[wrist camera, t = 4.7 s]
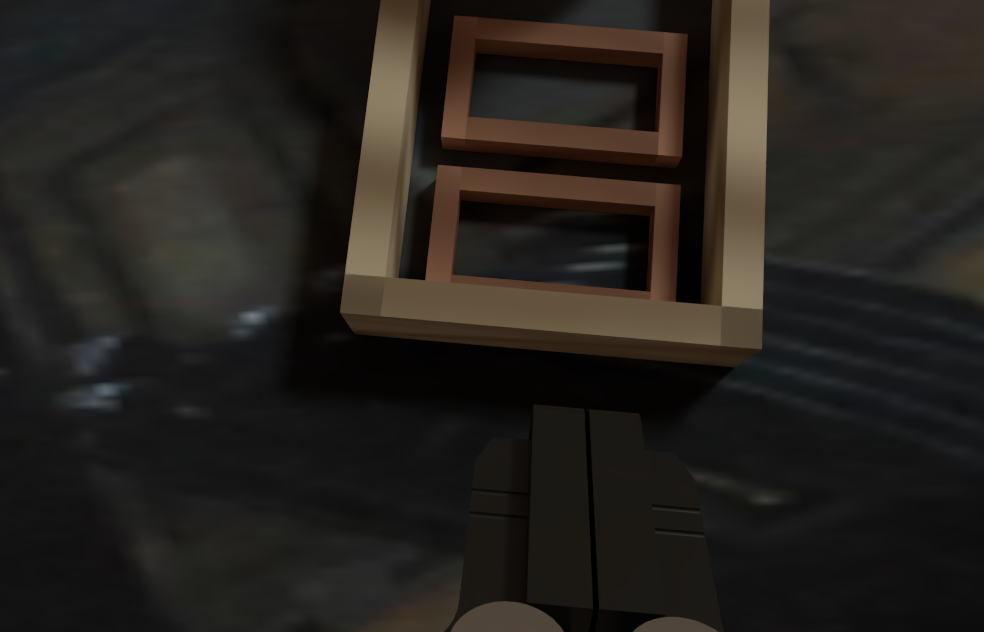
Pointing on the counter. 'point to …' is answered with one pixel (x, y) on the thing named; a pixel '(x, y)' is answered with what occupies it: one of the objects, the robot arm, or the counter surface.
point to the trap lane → (567, 193)
